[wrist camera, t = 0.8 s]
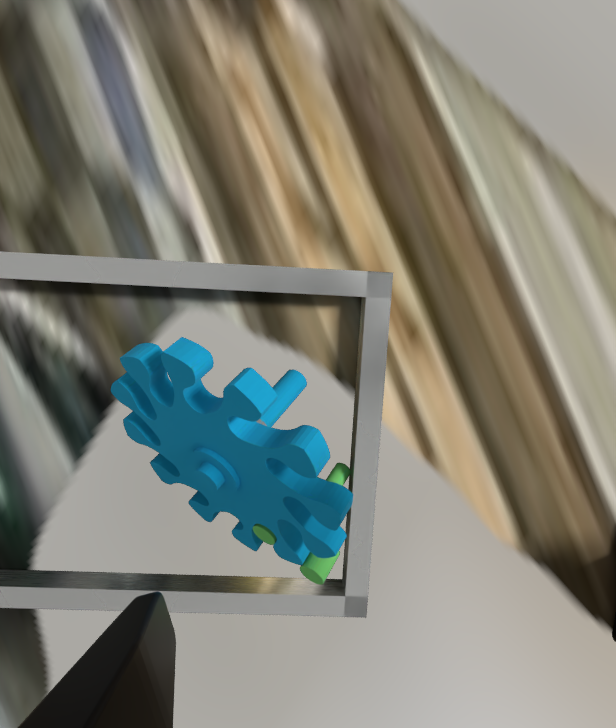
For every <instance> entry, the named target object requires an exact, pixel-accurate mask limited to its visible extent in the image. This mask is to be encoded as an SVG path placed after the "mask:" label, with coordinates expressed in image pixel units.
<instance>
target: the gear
mask: <svg viewBox="0 0 616 728" xmlns="http://www.w3.org/2000/svg"><path fill="white" fill-rule="evenodd" d="M120 361H121V363H122V365H123V367H124V368H125V370H126V371H127V373H125V374H124V375H123V376H121V377H120V378H119V379H117V380H116V381H115V382H114V383H113V384H112V386H111V392H112V394H113V395H114V396H115V397H116V398H117V399H118V400H119V401H120V402H121V403H122V404H124V405H125V406H127V407H129V408H130V409H131V410H133V412H132V413H130V414H129V415H128V416H127V417H126V418H125V419H123V423H124V427H125V430H126V432H127V435H128V436H129V437H130V438H131V439H133V440H134V441H135V442H137V443H139V444H143V445H146V446H148V447H150V448H152V449H154V450H156V451H157V452H159V454H158V455H157V456H156V457H155V458H154V459H153V460H152V461H151V462H150V464H151V466H152V468H153V469H154V471H155V472H156V473H157V475H158V476H159V477H160V479H161V480H162V481H163V482H165V483H167V484H173V483H182V484H185V485H187V486H190V487H192V488H194V489H196V490H198V492H197V493H196V494H195V495H194V496H193V497H192V498H191V499H190V501H189V505H190V506H191V507H192V508H193V509H194V510H195V511H196V512H197V513H198V514H199V515H200V516H201V517H202V518H203V519H205V520H206V521H208V522H212V520H214V518H215V517H216V516H217V515H218V513H219V512H220V511H221V512H228V513H231V514H232V515H234V516H235V517H236V518H238V519H239V522H238V524H237V525H236V526H235V528H234V529H233V530H232V534H233V536H234V537H235V538H236V539H238V540H239V541H240V542H241V543H243V544H244V545H246V546H247V547H249V548H251V549H252V550H254V551H257V550H258V548H259V547H260V545H261V544H262V543H263V541H264V542H266V543H267V544H270V545H273V544H274V546H273V548H274V550H275V552H276V553H277V554H278V556H279V557H281V558H283V559H285V560H287V561H290V562H292V563H295V564H298V565H301V567H300V571H301V572H302V574H303V575H304V576H305V577H306V578H307V579H309V580H310V581H312V582H313V583H316V584H319V585H322V584H323V583H324V581H325V580H326V578H327V576H328V574H329V573H330V571H331V569H332V567H333V565H334V564H335V562H336V560H337V558H338V556H339V555H340V551H339V549H340V547H341V546H342V544H343V542H344V540H345V539H346V537H347V535H346V533H345V531H344V530H343V529H342V528H341V527H340V524H341V523H342V521H343V519H344V517H345V516H346V514H347V512H348V511H349V509H350V507H351V506H352V502H353V494H352V493H351V492H350V491H349V490H348V489H347V488H345V487H344V486H343V484H344V483H345V481H346V480H347V478H348V476H349V475H350V473H351V471H350V469H349V468H348V467H347V466H346V465H345V464H343V463H337V464H336V466H335V467H334V469H333V470H332V471H331V473H330V475H329V476H328V478H327V479H326V480H323V479H321V478H318V477H317V476H318V475H319V473H320V472H321V470H322V469H323V467H324V466H325V464H326V463H327V461H328V460H329V458H330V452H329V449H328V446H327V444H326V442H325V440H324V438H323V436H322V434H321V432H320V431H319V430H318V429H316V428H314V427H312V426H308V425H302V426H300V427H298V428H295V429H291V430H280V429H275V428H271V427H272V426H273V425H274V423H275V422H276V421H277V420H278V419H279V418H280V416H281V415H282V414H283V413H284V412H285V411H286V409H287V408H288V407H289V406H290V405H291V403H292V402H293V401H294V400H295V399H296V398H297V396H298V395H299V394H300V393H301V392H302V391H303V389H304V388H305V387H306V385H307V382H306V379H305V377H304V376H303V375H302V374H301V373H300V372H298V371H296V370H289V371H287V373H286V374H285V375H284V376H283V377H282V378H281V379H280V380H279V381H278V382H277V383H276V385H274V387H273V388H272V387H271V386H270V385H269V384H268V382H267V381H266V380H265V379H263V378H262V377H261V376H260V375H259V374H258V373H257V372H256V371H255V370H254V369H252V368H246V369H244V370H243V371H242V372H241V373H240V374H239V375H238V376H236V377H235V378H234V379H233V380H232V381H231V382H230V383H229V384H228V385H227V386H226V387H225V388H224V391H223V398H218V397H216V396H214V395H212V394H211V393H209V392H208V391H207V390H206V389H205V387H204V386H203V384H202V382H201V378H202V377H203V376H204V375H205V374H206V373H207V372H209V371H210V370H211V369H212V367H213V358H212V355H211V353H210V352H209V351H207V350H206V349H205V348H203V347H202V346H200V345H199V344H197V343H194V342H193V341H191V340H188V339H186V338H183V337H182V338H180V339H179V340H178V341H176V342H175V343H174V344H172V345H171V346H170V347H169V348H167V349H166V350H165V351H162V350H161V348H160V347H159V346H158V345H156V344H152V343H143V344H138V345H137V346H136V347H134V348H133V349H131V350H130V351H129V352H127V353H126V354H125V355H123V356H122V357H120ZM167 372H168V375H169V377H170V379H171V381H172V383H171V381H170V380H169V378H168V375H167Z"/></svg>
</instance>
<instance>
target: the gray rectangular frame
mask: <svg viewBox="0 0 616 728" xmlns="http://www.w3.org/2000/svg"><path fill="white" fill-rule="evenodd" d="M0 278H6V279H25V280H45V281H64V282H84V283H103V284H122V285H142V286H161V287H181V288H200V289H219V290H239V291H258V292H278V293H297V294H316V295H336V296H355V297H362V299H361V314H360V328H359V343H358V358H357V372H356V387H355V402H354V417H353V432H352V446H351V461H350V471H351V473H350V475H349V491H350V492H351V493H352V494H353V502H352V506H351V507H350V509H349V511H348V512H347V521H346V535H347V537H346V539H345V549H344V564H343V579H326V580H325V581H324V583H323V584H322V585H319V584H316V583H313V582H312V581H310V580H309V579H307V578H276V577H242V576H241V577H240V576H208V575H175V574H173V575H172V574H141V573H106V572H73V571H39V570H6V569H0V608H29V609H67V610H68V609H70V610H105V611H106V610H107V611H123V610H124V609H125V608H126V607H127V606H128V605H129V604H130V603H131V602H132V600H134V599H135V598H136V597H137V596H141V595H144V594H148V593H152V592H156V591H158V592H160V593H162V595H163V596H164V599H165V602H166V605H167V609H168V612H179V613H183V612H184V613H219V614H255V615H292V616H329V617H366V614H367V602H368V589H369V576H370V563H371V550H372V537H373V525H374V511H375V498H376V486H377V473H378V459H379V447H380V434H381V421H382V408H383V396H384V383H385V370H386V357H387V344H388V331H389V318H390V305H391V292H392V280H393V273H389V272H371V271H352V270H333V269H315V268H296V267H277V266H259V265H240V264H221V263H203V262H184V261H165V260H147V259H128V258H109V257H91V256H72V255H53V254H35V253H16V252H0Z"/></svg>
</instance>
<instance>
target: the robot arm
mask: <svg viewBox="0 0 616 728" xmlns="http://www.w3.org/2000/svg"><path fill="white" fill-rule="evenodd" d="M612 637H613V639H614V641H616V614H615V619H614V625H613V631H612ZM175 652H176V639H175V632H174V628H173V625H172V622H171V618H170V615H169V612H168V609H167V605H166V602H165V599H164V596H163V595H162V593H160V592H158V591H156V592H152V593H148V594H144V595H141V596H137V597H136V598H135V599H134V600H132V602H131V603H130V604H129V605H128V606H127V607H126V608H125V609H124V610H123V612H122V613H121V614H120V615H119V616H118V617H117V618H116V619H115V621H113V623H112V624H111V625H110V626H109V627H108V628H107V629H106V630H105V631H104V633H103V634H102V635H101V636H100V637H99V638H98V639H97V640H96V642H95V643H94V644H93V645H92V646H91V647H90V648H89V649H88V650H87V652H86V653H85V654H84V655H83V656H82V657H81V658H80V659H79V660H78V661H77V663H76V664H75V665H74V666H73V667H72V668H71V669H70V670H69V671H68V672H67V674H66V675H65V676H64V677H63V678H62V679H61V680H60V682H58V684H57V685H56V686H55V687H54V688H53V689H52V690H51V691H50V692H49V693H48V695H47V696H46V697H45V698H44V699H43V700H42V701H41V702H40V703H39V705H38V706H37V707H36V708H35V709H34V710H33V711H32V712H31V713H30V715H29V716H28V717H27V718H26V719H25V720H24V721H23V722H22V723H21V724H20V726H19V727H18V728H173V706H174V679H175Z"/></svg>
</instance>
